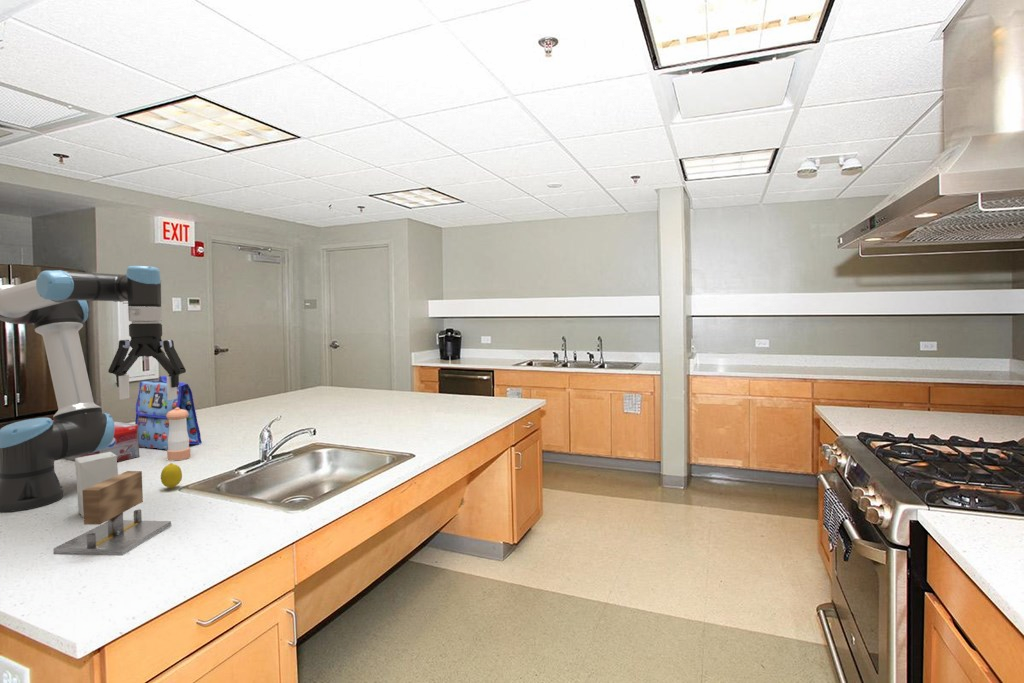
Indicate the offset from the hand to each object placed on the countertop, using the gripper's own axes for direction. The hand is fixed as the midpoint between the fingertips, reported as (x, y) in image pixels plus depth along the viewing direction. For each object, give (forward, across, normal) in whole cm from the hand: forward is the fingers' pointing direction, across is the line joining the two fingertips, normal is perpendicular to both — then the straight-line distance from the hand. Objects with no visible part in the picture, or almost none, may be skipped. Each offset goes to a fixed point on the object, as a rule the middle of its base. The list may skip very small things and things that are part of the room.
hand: (148, 399), depth 143 cm
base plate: (+31, +6, -20) cm, 37 cm away
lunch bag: (+31, -42, +65) cm, 83 cm away
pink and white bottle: (+31, -25, +47) cm, 62 cm away
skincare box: (+31, -12, -4) cm, 33 cm away
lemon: (+31, -5, +15) cm, 35 cm away
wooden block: (+24, +6, -20) cm, 32 cm away
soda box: (+31, -62, +49) cm, 85 cm away
